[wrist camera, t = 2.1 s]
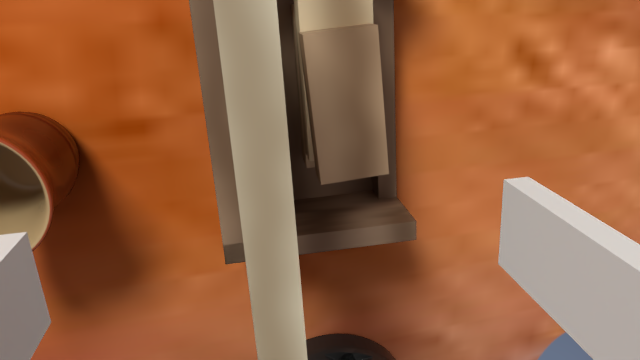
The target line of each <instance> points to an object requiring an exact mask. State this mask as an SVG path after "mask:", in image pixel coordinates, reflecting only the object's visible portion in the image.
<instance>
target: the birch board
mask: <svg viewBox="0 0 640 360" xmlns="http://www.w3.org/2000/svg"><path fill="white" fill-rule="evenodd" d="M213 3H214V11H215V19H216V27H217V35H218V43H219V51H220V59H221V67H222V75H223V83H224V91H225V99H226V107H227V115H228V123H229V131H230V139H231V147H232V155H233V163H234V171H235V180H236V188H237V196H238V204H239V212H240V220H241V228H242V236H243V244H244V252H245V260H246V268H247V276H248V284H249V292H250V300H251V308H252V316H253V324H254V332H255V340H256V348H257V356H258V360H308V359H307V347H306V336H305V324H304V313H303V301H302V289H301V278H300V266H299V255H298V243H297V232H296V220H295V208H294V197H293V185H292V174H291V162H290V151H289V139H288V127H287V116H286V104H285V93H284V81H283V69H282V58H281V46H280V35H279V23H278V12H277V0H213Z"/></svg>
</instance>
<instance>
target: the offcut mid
mask: <svg viewBox="0 0 640 360" xmlns="http://www.w3.org/2000/svg"><path fill="white" fill-rule="evenodd" d="M294 12H295V25H296V38H297V51H298V64H299V78H300V91H301V104H302V117H303V130H304V143H305V153H306V155H307V157H308V159H309V161H314V154H313V146H312V138H311V130H310V122H309V114H308V106H307V98H306V90H305V82H304V74H303V66H302V58H301V50H300V42H299V34H298V32H305V31H313V30H321V29H328V28H336V27H343V26H351V25H359V24H366V23H371V24H373V0H294Z"/></svg>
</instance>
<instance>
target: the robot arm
mask: <svg viewBox="0 0 640 360" xmlns="http://www.w3.org/2000/svg"><path fill="white" fill-rule="evenodd" d="M498 264H499V265H500V266H501V267H502V268H503V269H504V270H505V271H506V272H507V273H508V274H509V275H510V276H511V277H512V278H513V279H514V280H515V281H516V282H517V283H518V284H519V285H520V286H521V287H522V288H523V289H524V290H525V291H526V292H527V293H528V294H529V295H530V296H531V297H532V298H533V299H534V300H535V301H536V302H537V303H538V304H539V305H540V306H541V307H542V308H543V309H544V310H545V311H546V312H547V313H548V314H549V315H550V316H551V317H552V318H553V319H554V320H555V321H556V322H557V323H558V324H559V325H560V326H561V327H562V328H563V329H564V330H565V331H566V332H567V333H568V334H569V335H570V336H571V337H572V338H573V339H574V340H575V341H576V342H577V343H578V344H579V345H580V346H581V347H582V349H584V350H585V352H587V354H588V355H590V357H592V359H594V360H640V244H638V243H636V242H634V241H633V240H631V239H630V238H628V237H626V236H625V235H623V234H621V233H620V232H618V231H616V230H615V229H613V228H612V227H610V226H608V225H607V224H605V223H603V222H602V221H600V220H598V219H597V218H595V217H593V216H592V215H590V214H589V213H587V212H585V211H584V210H582V209H580V208H579V207H577V206H575V205H574V204H572V203H571V202H569V201H567V200H566V199H564V198H562V197H561V196H559V195H557V194H556V193H554V192H552V191H551V190H549V189H548V188H546V187H544V186H543V185H541V184H539V183H538V182H536V181H534V180H533V179H531V178H530V177H523V178H514V179H505V180H504V184H503V200H502V215H501V231H500V246H499V262H498ZM50 323H51V320H50V316H49V312H48V309H47V305H46V301H45V297H44V294H43V290H42V286H41V282H40V279H39V275H38V271H37V268H36V264H35V260H34V256H33V253H32V249H31V245H30V241H29V238H28V234H27V232H22V233H13V234H4V235H0V360H30V359H31V357H32V355H33V354H34V352H35V350H36V348H37V346H38V345H39V343H40V341H41V339H42V338H43V336H44V334H45V332H46V330H47V329H48V327H49V325H50ZM306 347H307V359H308V360H395V358H394V357H393V356H392V355H391V354H390V353H389V352H388V351H387V350H386V349H385V348H384V347H382V346H381V345H379V344H378V343H376V342H374V341H372V340H370V339H367V338H364V337H360V336H356V335H350V334H329V335H322V336H318V337H314V338H311V339H308V340H306Z"/></svg>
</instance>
